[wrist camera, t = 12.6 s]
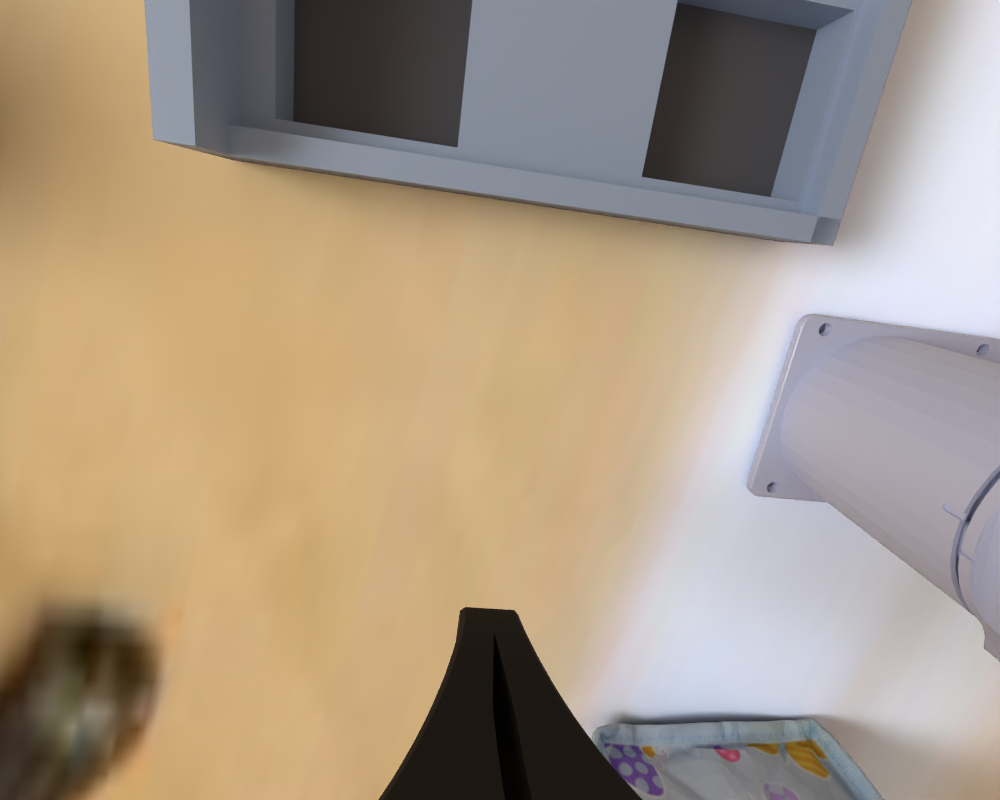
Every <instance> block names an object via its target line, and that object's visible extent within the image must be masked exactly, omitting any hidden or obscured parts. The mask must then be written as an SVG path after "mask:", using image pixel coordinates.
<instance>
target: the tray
mask: <svg viewBox="0 0 1000 800" xmlns="http://www.w3.org/2000/svg"><path fill="white" fill-rule="evenodd" d="M144 2H145V18H146V33H147V49H148V64H149V80H150V95H151V111H152V127H153V140H157V141H161V142H165V143H169V144H172V145H176V146H180V147H184V148H188V149H192V150H196V151H200V152H204V153H208V154H212V155H216V156H219V157H223V158H227V159H231V160H236V161H243V162H249V163H256V164H263V165H270V166H276V167H283V168H290V169H296V170H303V171H310V172H317V173H323V174H330V175H337V176H343V177H350V178H357V179H364V180H370V181H377V182H384V183H390V184H397V185H404V186H411V187H417V188H424V189H431V190H437V191H444V192H451V193H458V194H464V195H471V196H478V197H484V198H491V199H498V200H505V201H511V202H518V203H525V204H531V205H538V206H545V207H552V208H558V209H565V210H572V211H578V212H585V213H592V214H599V215H605V216H612V217H619V218H625V219H632V220H639V221H645V222H652V223H659V224H666V225H672V226H679V227H686V228H692V229H699V230H706V231H713V232H719V233H726V234H733V235H739V236H746V237H753V238H760V239H766V240H773V241H780V242H792V243H806V244H819V245H833V244H834V241H835V238H836V234H837V231H838V228H839V225H840V222H841V219H842V216H843V213H844V210H845V207H846V203H847V200H848V197H849V194H850V191H851V188H852V185H853V182H854V179H855V176H856V172H857V169H858V166H859V163H860V160H861V157H862V154H863V151H864V148H865V145H866V141H867V138H868V135H869V132H870V129H871V126H872V123H873V120H874V117H875V114H876V110H877V107H878V104H879V101H880V98H881V95H882V92H883V89H884V86H885V83H886V79H887V76H888V73H889V70H890V67H891V64H892V61H893V58H894V55H895V52H896V48H897V45H898V42H899V39H900V36H901V33H902V30H903V27H904V24H905V21H906V17H907V14H908V11H909V8H910V5H911V2H912V0H144Z"/></svg>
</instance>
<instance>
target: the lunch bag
mask: <svg viewBox="0 0 1000 800" xmlns="http://www.w3.org/2000/svg"><path fill="white" fill-rule="evenodd" d="M592 742H593V743H594V744H595V745H596V747H597V748H598V749H599V751H600V752H601V753H602V754H603V756H604V757H605V758H606V759H607V760H608V762H609V763H610V764H611V765H612V766H613V768H614V769H615V770H616V771H617V772H618V773H619V775H620V776H621V777H622V778H623V779H624V780H625V781H626V782H627V783H628V784H629V785H630V786H631V788H632V789H633V790H634V791H635V792H636V793H637V794H638V795H639V796H640V797H641V798H642V800H883V799H882V797H881V796H880V794H879V793H878V792H877V790H876V789H875V787H874V786H873V785H872V783H871V782H870V780H869V779H868V778H867V777H866V775H865V774H864V773H863V771H862V770H861V769H860V768H859V767H858V766H857V765H856V764H855V762H854V761H853V760H852V758H851V757H850V756H849V754H848V753H847V752H846V751H845V750H844V749H843V748H842V747H841V746H840V744H839V743H838V741H837V740H836V739H835V738H834V737H833V736H832V735H831V734H830V733H829V732H828V731H827V730H825V729H824V728H823V727H822V726H821V725H820V724H819V723H818V722H817V721H815V720H813V719H799V720H776V721H753V722H745V721H722V722H704V723H684V724H664V725H630V724H624V723H613V724H609V725H605V726H602V727H599V728H597V729H596V730H595V731H594V733H593V735H592Z"/></svg>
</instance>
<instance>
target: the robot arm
mask: <svg viewBox="0 0 1000 800" xmlns="http://www.w3.org/2000/svg"><path fill="white" fill-rule="evenodd" d="M823 324H825V330H824V331H823V332H822V333H821V334H819V328H820V327H821V325H823ZM979 346H980V349H979V351H978V352H977V349H978V348H979ZM771 482H773V485H772V486H771V487H770V488H767V486H768V484H770V483H771ZM747 488H748V490H749V491H750V492H751V493H753V494H754V495H756V496H763V497H774V498H785V499H795V500H806V501H817V502H828V503H829V504H830V505H832V506H833V507H834V508H836V509H837V510H838V511H839V512H841V513H842V514H843V515H845V516H846V517H847V518H849V519H850V520H851V521H852V522H854V523H855V524H856V525H858V526H859V527H860V528H861V529H863V530H864V531H865V532H867V533H868V534H869V535H870V536H872V537H873V538H874V539H876V540H877V541H878V542H879V543H881V544H882V545H883V546H885V547H886V548H887V549H889V550H890V551H891V552H892V553H894V554H895V555H896V556H898V557H899V558H900V559H901V560H903V561H904V562H905V563H907V564H908V565H909V566H910V567H912V568H913V569H914V570H916V571H917V572H918V573H920V574H921V575H922V576H923V577H925V578H926V579H927V580H929V581H930V582H931V583H932V584H934V585H935V586H936V587H938V588H939V589H940V590H941V591H943V592H944V593H945V594H947V595H948V596H949V597H951V598H952V599H953V600H954V601H956V602H957V603H958V604H960V605H961V606H962V607H963V608H965V609H966V610H967V611H969V612H970V613H971V614H972V615H974V616H975V617H976V618H977V619H978V620H979V621H980V623H981V624H982V626H983V629H984V633H985V641H984V649H985V650H987V651H988V652H989V653H990V654H992V655H993V656H994V657H995V658H996V659H998V660H999V661H1000V339H995V338H987V337H980V336H972V335H965V334H957V333H950V332H942V331H935V330H927V329H920V328H912V327H905V326H897V325H890V324H882V323H875V322H867V321H860V320H853V319H845V318H838V317H830V316H823V315H815V314H807V315H805V316H803V317H802V318H801V319H800V320H799V321H798V323H797V325H796V328H795V332H794V335H793V338H792V341H791V344H790V347H789V351H788V354H787V357H786V360H785V363H784V366H783V370H782V373H781V376H780V379H779V382H778V385H777V388H776V392H775V395H774V398H773V401H772V404H771V407H770V411H769V414H768V417H767V420H766V423H765V426H764V430H763V433H762V436H761V439H760V442H759V445H758V449H757V452H756V455H755V458H754V461H753V464H752V468H751V471H750V474H749V477H748V480H747ZM379 800H642V798H641V797H640V796H639V795H638V794H637V793H636V792H635V791H634V790H633V789H632V788H631V786H630V785H629V784H628V783H627V782H626V781H625V780H624V779H623V778H622V777H621V776H620V775H619V773H618V772H617V771H616V770H615V769H614V768H613V766H612V765H611V764H610V763H609V762H608V760H607V759H606V758H605V757H604V756H603V754H602V753H601V752H600V751H599V749H598V748H597V747H596V745H595V744H594V743H593V742H592V740H591V739H590V738H589V736H588V735H587V734H586V732H585V731H584V730H583V728H582V727H581V725H580V724H579V723H578V721H577V720H576V718H575V717H574V715H573V714H572V712H571V711H570V709H569V708H568V706H567V705H566V703H565V702H564V700H563V699H562V697H561V696H560V694H559V692H558V691H557V689H556V688H555V686H554V684H553V683H552V681H551V679H550V677H549V676H548V674H547V672H546V670H545V669H544V667H543V665H542V663H541V662H540V660H539V658H538V656H537V654H536V652H535V650H534V648H533V646H532V644H531V642H530V640H529V638H528V636H527V634H526V632H525V630H524V628H523V625H522V623H521V621H520V619H519V616H518V614H517V613H516V612H515V611H514V610H502V609H486V608H470V607H465V608H463V609H462V610H461V611H460V615H459V622H458V630H457V637H456V643H455V647H454V650H453V653H452V656H451V659H450V662H449V665H448V668H447V671H446V674H445V676H444V679H443V681H442V684H441V686H440V689H439V691H438V693H437V696H436V698H435V700H434V703H433V705H432V707H431V709H430V711H429V713H428V716H427V718H426V720H425V722H424V724H423V726H422V728H421V730H420V731H419V733H418V735H417V737H416V739H415V741H414V743H413V745H412V746H411V748H410V750H409V752H408V753H407V755H406V757H405V759H404V760H403V762H402V764H401V766H400V767H399V769H398V771H397V772H396V774H395V775H394V777H393V779H392V780H391V782H390V783H389V785H388V786H387V788H386V789H385V791H384V792H383V794H382V795H381V797H380V798H379Z"/></svg>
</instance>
